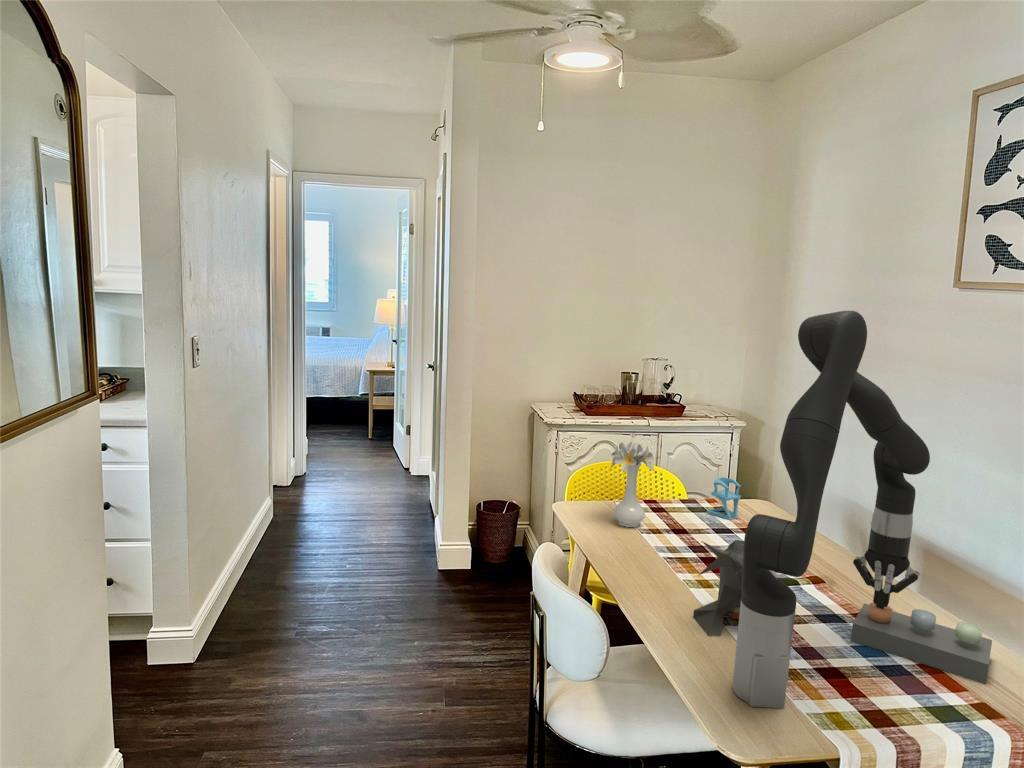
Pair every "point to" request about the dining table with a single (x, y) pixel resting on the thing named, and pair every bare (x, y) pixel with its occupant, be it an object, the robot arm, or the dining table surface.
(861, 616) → the console
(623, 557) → the dining table surface
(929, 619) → the slate button
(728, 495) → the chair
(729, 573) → the grey finned figurine
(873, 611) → the terracotta button
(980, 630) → the sage button
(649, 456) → the flower vase
